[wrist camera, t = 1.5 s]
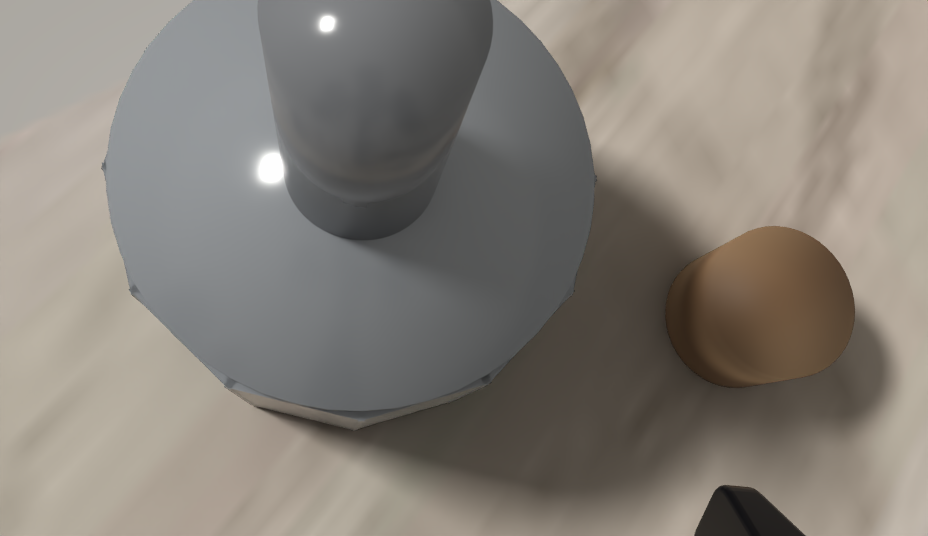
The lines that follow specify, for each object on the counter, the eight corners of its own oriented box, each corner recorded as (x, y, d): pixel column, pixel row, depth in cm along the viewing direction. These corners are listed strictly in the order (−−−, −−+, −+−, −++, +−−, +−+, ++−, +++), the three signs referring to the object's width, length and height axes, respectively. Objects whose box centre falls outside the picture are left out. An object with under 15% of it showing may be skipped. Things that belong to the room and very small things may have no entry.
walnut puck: (811, 366, 24) (877, 354, 21) (691, 404, 23) (742, 397, 20) (764, 239, 25) (821, 210, 22) (646, 272, 24) (689, 246, 21)
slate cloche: (575, 365, 23) (826, 271, 11) (212, 473, 21) (64, 491, 9) (472, 43, 25) (598, -322, 13) (128, 112, 22) (-86, -252, 11)
